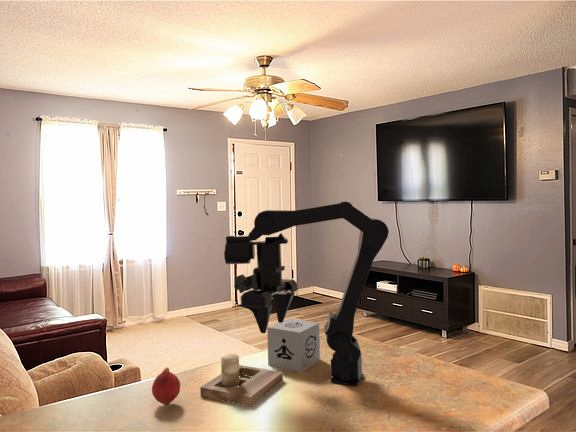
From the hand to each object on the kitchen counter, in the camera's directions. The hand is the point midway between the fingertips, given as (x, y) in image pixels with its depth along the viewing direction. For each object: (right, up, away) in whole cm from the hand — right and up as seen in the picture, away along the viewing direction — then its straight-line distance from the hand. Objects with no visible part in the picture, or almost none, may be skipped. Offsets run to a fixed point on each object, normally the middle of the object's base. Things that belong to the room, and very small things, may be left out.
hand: (272, 327), depth 110 cm
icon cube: (+6, -12, +12) cm, 18 cm away
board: (-7, -13, -4) cm, 15 cm away
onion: (-22, -14, -12) cm, 29 cm away
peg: (-9, -13, -6) cm, 17 cm away
